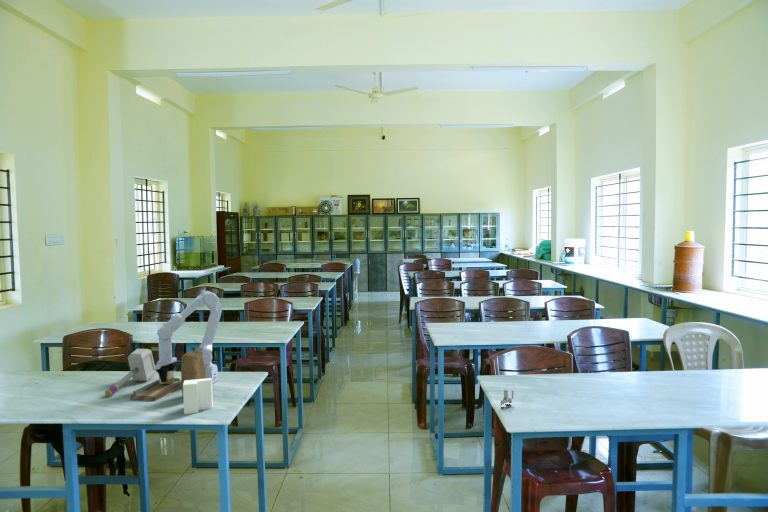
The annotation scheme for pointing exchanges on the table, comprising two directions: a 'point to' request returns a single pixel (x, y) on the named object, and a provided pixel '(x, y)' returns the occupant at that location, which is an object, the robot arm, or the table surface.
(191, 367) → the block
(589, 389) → the table surface
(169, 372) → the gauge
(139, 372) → the hammer
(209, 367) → the robot arm
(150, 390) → the board
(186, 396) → the corner bracket
